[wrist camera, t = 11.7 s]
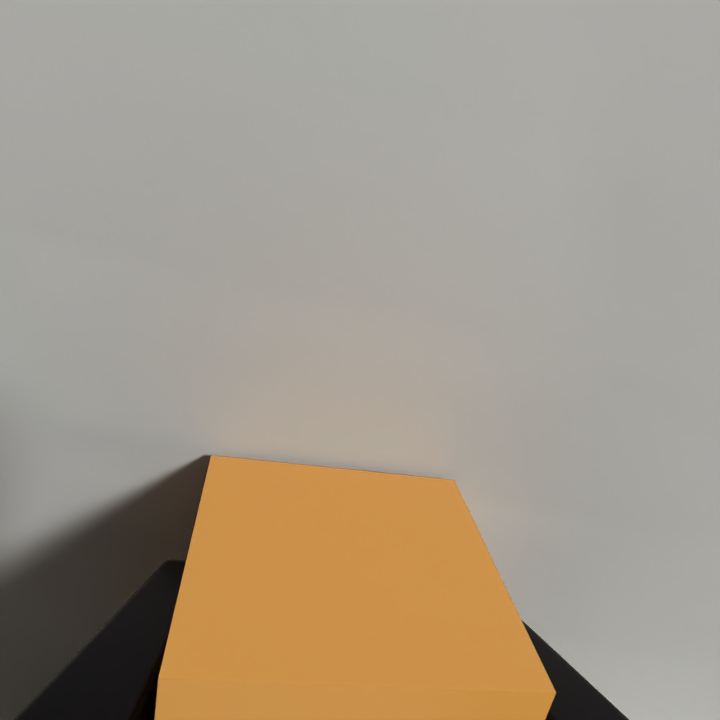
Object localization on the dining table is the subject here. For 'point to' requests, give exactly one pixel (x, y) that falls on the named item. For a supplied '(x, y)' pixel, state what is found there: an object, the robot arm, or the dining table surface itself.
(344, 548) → the orange grey square bar
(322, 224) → the dining table surface
